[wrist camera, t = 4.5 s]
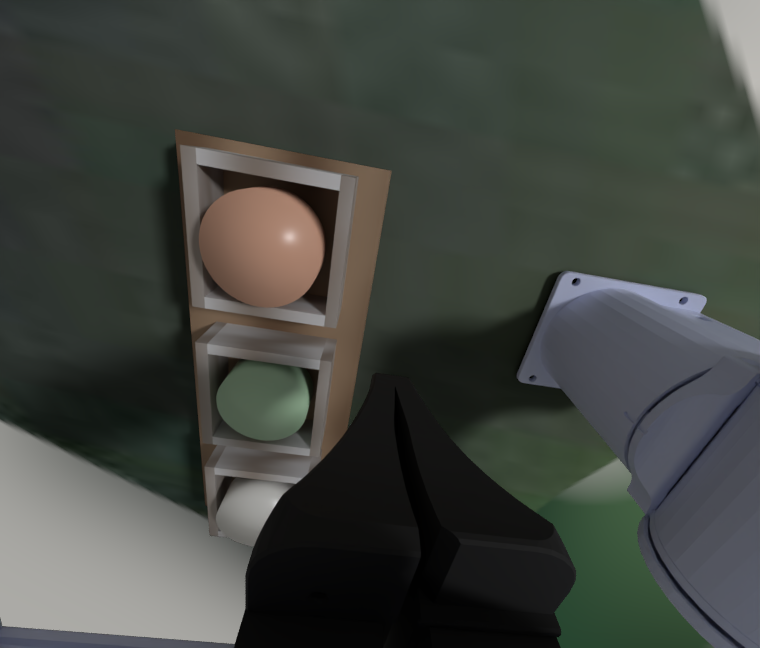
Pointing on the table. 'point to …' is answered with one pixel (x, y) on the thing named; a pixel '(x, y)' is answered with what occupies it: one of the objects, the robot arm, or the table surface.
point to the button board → (285, 323)
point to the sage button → (265, 399)
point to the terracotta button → (262, 245)
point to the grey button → (248, 508)
